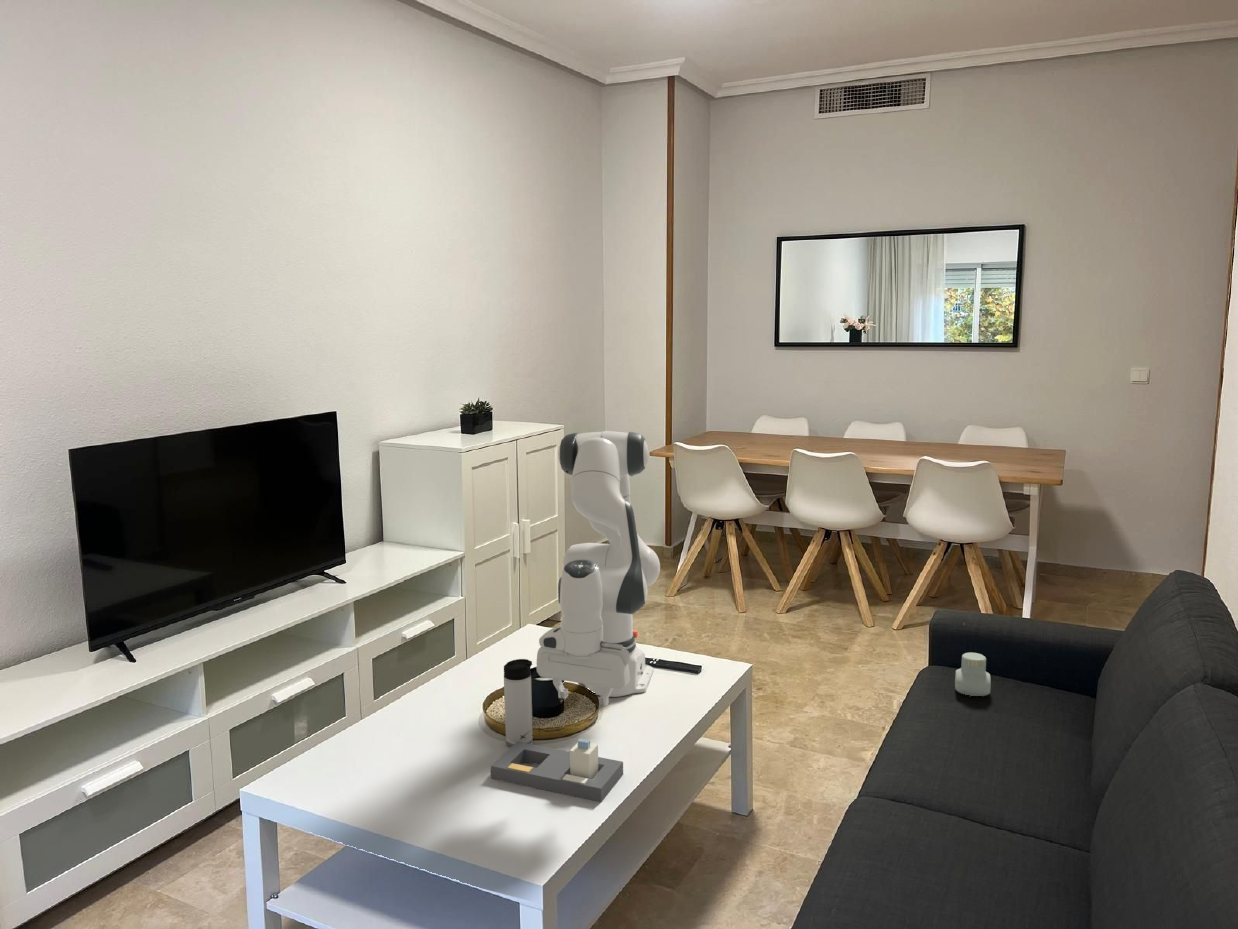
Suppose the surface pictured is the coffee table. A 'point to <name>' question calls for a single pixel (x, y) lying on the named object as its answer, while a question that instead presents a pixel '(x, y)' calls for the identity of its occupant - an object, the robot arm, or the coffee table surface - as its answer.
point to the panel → (554, 772)
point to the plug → (584, 759)
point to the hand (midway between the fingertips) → (583, 701)
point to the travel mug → (518, 702)
